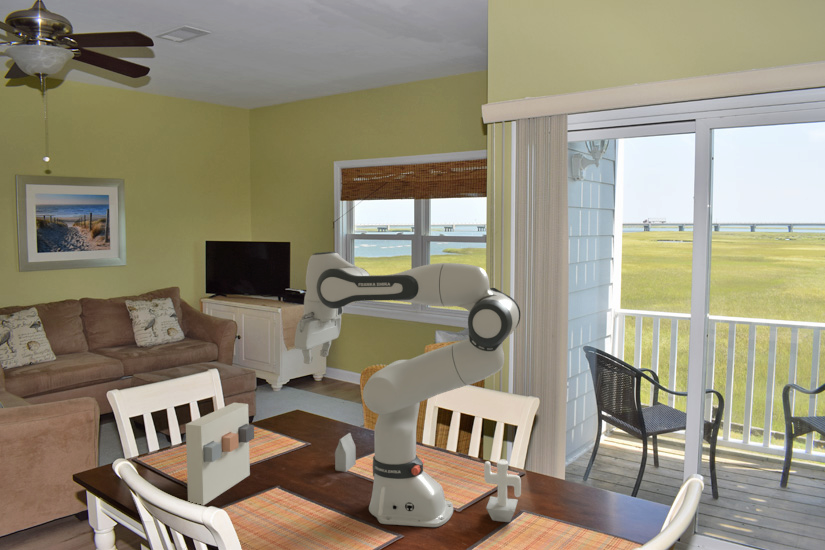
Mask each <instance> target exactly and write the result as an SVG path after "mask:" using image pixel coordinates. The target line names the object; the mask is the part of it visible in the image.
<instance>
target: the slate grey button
mask: <svg viewBox="0 0 825 550" xmlns="http://www.w3.org/2000/svg"><path fill="white" fill-rule="evenodd" d="M203 451H204V461H207V462H213V461H215V460H217V459H219V458H221V443H218V442H210V443H208V444H206V445H204V446H203Z"/></svg>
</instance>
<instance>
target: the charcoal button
mask: <svg viewBox="0 0 825 550" xmlns="http://www.w3.org/2000/svg"><path fill="white" fill-rule="evenodd" d="M238 436H239V442H245V443H247V442H249V443H250V441H252V440H254V439H255V425H253V424H249V425H247V424H245V425H243V426H241V427H239V428H238Z"/></svg>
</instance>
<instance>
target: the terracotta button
mask: <svg viewBox="0 0 825 550" xmlns="http://www.w3.org/2000/svg"><path fill="white" fill-rule="evenodd" d="M236 448H238V434H236V433H227V434H225V435H224V436H222V451H226V452H231V451H233V450H235V449H236Z"/></svg>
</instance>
